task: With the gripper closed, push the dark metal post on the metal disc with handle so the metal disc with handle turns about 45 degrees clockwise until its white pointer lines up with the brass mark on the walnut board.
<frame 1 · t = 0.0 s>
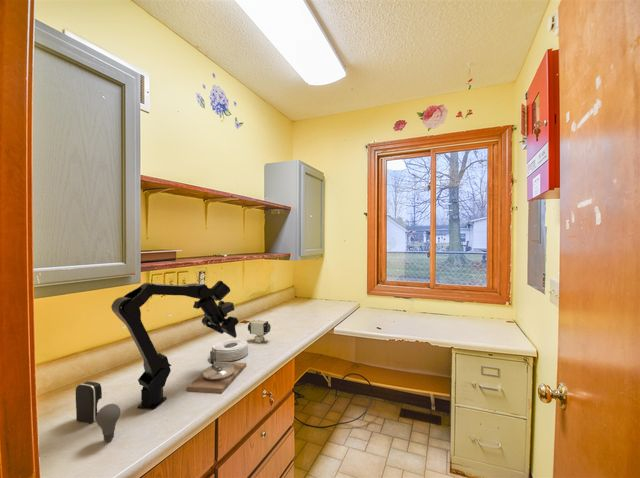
hand: (229, 335, 123), 15 cm above the worktop, tool tilted 35°, fingers open, 9 cm apart
board: (219, 377, 116), on the worktop
light bulb: (109, 441, 80), on the worktop
pneumatic valve: (259, 341, 156), on the worktop
metal disc with handle: (217, 364, 117), point 5 cm above the worktop, hinge at 45.0°
battery charger: (90, 419, 90), on the worktop
cable: (230, 356, 138), on the worktop
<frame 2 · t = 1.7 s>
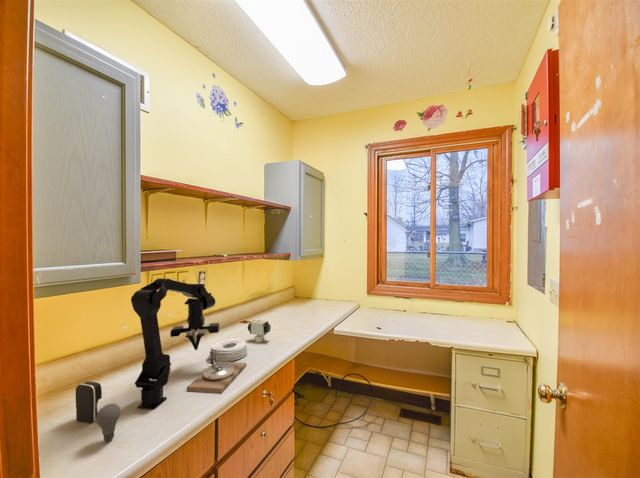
hand: (196, 349, 121), 10 cm above the worktop, tool pointing down, fingers closed
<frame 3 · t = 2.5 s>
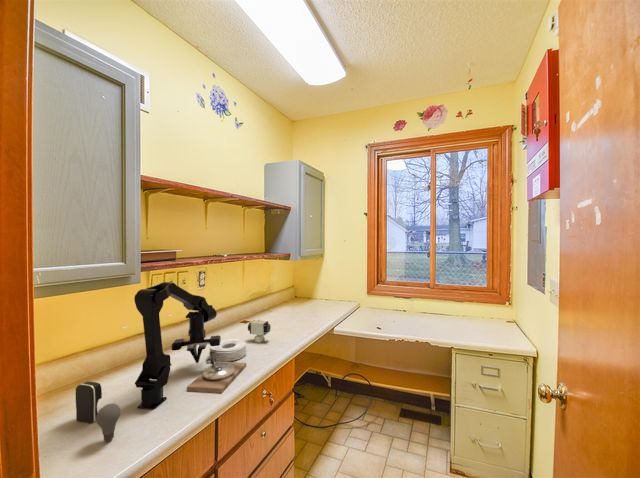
hand: (197, 362, 121), 4 cm above the worktop, tool pointing down, fingers closed
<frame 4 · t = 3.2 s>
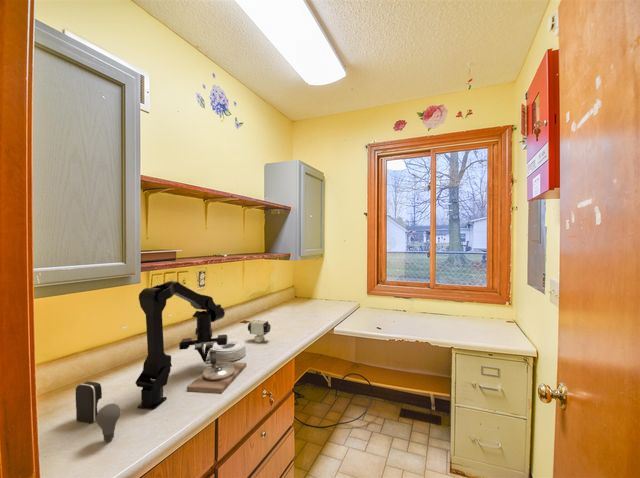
hand: (204, 361, 122), 4 cm above the worktop, tool pointing down, fingers closed
metal disc with handle: (217, 364, 117), point 5 cm above the worktop, hinge at 45.0°, touching gripper
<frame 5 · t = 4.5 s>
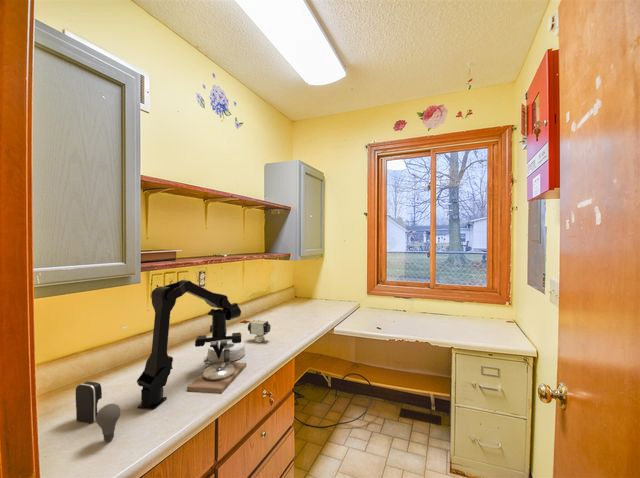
hand: (219, 358, 124), 4 cm above the worktop, tool pointing down, fingers closed
metal disc with handle: (220, 363, 117), point 5 cm above the worktop, hinge at 3.9°, touching gripper
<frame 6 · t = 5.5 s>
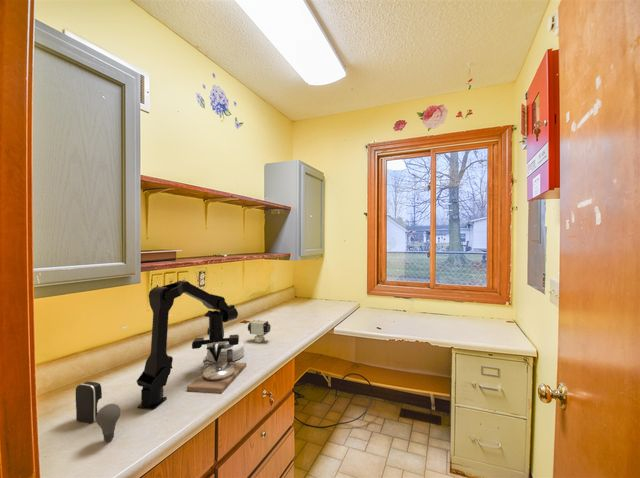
hand: (216, 361, 123), 4 cm above the worktop, tool pointing down, fingers closed
metal disc with handle: (221, 363, 117), point 5 cm above the worktop, hinge at -5.9°
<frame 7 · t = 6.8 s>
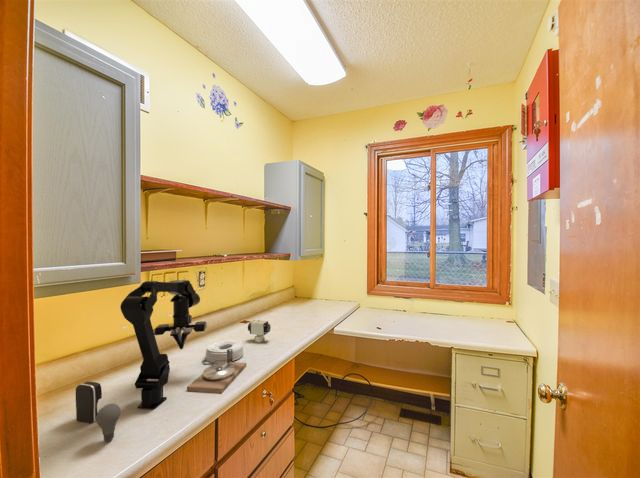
hand: (181, 348, 116), 12 cm above the worktop, tool pointing down, fingers closed
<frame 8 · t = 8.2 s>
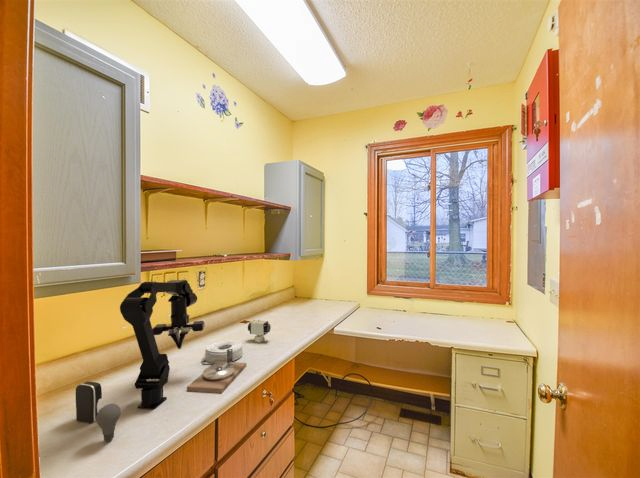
hand: (179, 348, 116), 12 cm above the worktop, tool pointing down, fingers closed
at the end: metal disc with handle at -6° (first picture: +45°); the gripper is holding nothing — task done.
